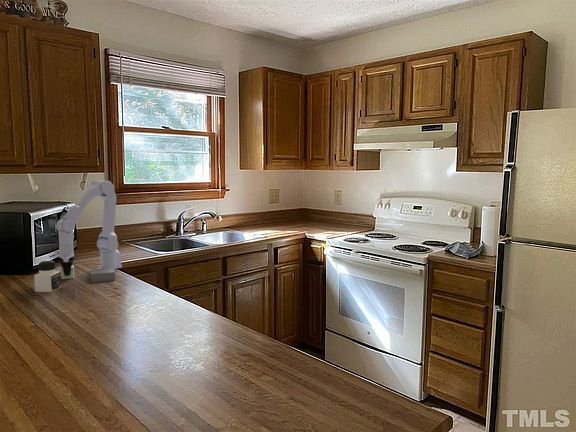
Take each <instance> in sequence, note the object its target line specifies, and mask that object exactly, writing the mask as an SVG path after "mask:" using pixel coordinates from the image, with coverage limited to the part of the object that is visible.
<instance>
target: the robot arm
mask: <svg viewBox="0 0 576 432" xmlns="http://www.w3.org/2000/svg"><path fill="white" fill-rule="evenodd" d="M95 197H100V198H102V199H103V200H104V203H103V215H102V217H103V218H102V227H101V228H102V229H101V230H102V231H101V232H100V233H99V235H98V239H97V241H96V247H97V248H98V249H99V258H100V261H99V262H100V264H99V265H100V267H97V268H96V269H98V268H111V267H114V270H116V269H120V268H122V267H123V265H122V262H121V261H122V260H121V259H122V257H121V252H120V251H119V250H118V248H119V241H118V236H117V234H116V233H115V225H116V223H115V222H116V210H117V209H116V208H117V194H116V192H115V184H113V183H112V182H111V181H110V180H98V179H95V180H93V181H92V182H91V183H90V184H89V185H88V186H87V190H86V191H85V192H84V194H83V195H82V197H80V199H79V201H78V202H77V204H76V205H72V206H69V208H68V211H67V212H66V213H65V214H64V215H62V218H61V219H58V220H57V222H56V224H55V225H54V226H55V229H56V230H57V231H58V232H57V234H58V244H59V246H58V247H59V248H58V249H59V254H57V255H56V257H57V258H60V260H59V264H60V265H61V267H62V268H63V272H64V275H65V276H70V273H71V266H72V265H73V263H74V261H75V260H74V259H75V253H74V237H73V236H74V233H73V230H75V228H76V224H77V222H78V221H79V220H80V218H81V217H82V216H83V214H84V209H85V208H86V207H87V205H89V203H91V201H92V200H93V199H94V198H95Z"/></svg>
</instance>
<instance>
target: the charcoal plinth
mask: <svg viewBox="0 0 576 432" xmlns="http://www.w3.org/2000/svg"><path fill="white" fill-rule="evenodd" d="M97 268H98V269H97ZM97 268H91V269H90V283H95V282H107V281H115V280H116V272H115V271H116V269H114V267H111V268H100V267H97Z"/></svg>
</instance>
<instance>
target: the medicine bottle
mask: <svg viewBox="0 0 576 432" xmlns="http://www.w3.org/2000/svg"><path fill="white" fill-rule="evenodd" d="M33 278H34V279H33V280H34V292H36V293H53V292H55V291H57V290H59V289H61V287H62V282H61V281H62V279H61V270H60V271H59V270H56V262H55V261H53V260H43V261H40V262H39V263H38V273H36V274H34V277H33Z"/></svg>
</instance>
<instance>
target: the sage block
mask: <svg viewBox="0 0 576 432" xmlns="http://www.w3.org/2000/svg"><path fill="white" fill-rule="evenodd" d="M60 276H61V280H68V279H74V278H75V265H73V264H72V266H71V273H70V276H65V275H64V272H63V268H62V266H61V267H60Z"/></svg>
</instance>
